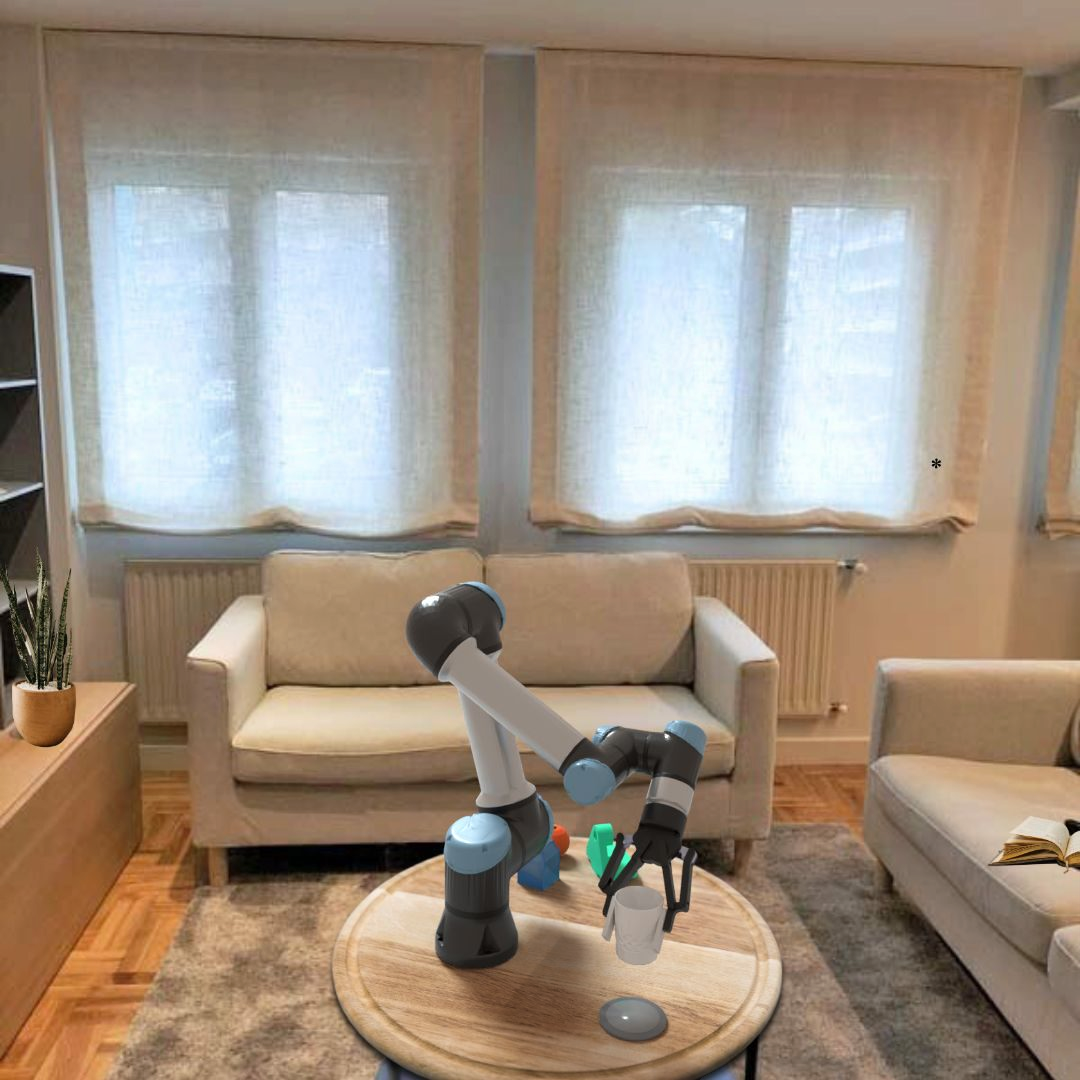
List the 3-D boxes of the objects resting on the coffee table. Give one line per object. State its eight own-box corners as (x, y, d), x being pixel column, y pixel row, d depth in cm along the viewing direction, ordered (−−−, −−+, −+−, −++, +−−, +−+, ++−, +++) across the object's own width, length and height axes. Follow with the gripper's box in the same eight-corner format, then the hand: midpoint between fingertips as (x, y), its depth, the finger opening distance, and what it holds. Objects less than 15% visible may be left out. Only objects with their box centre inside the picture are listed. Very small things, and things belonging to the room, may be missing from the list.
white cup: (630, 935, 189) (632, 880, 187) (670, 952, 184) (673, 896, 182) (602, 955, 183) (604, 898, 181) (643, 974, 178) (645, 916, 176)
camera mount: (638, 882, 231) (640, 835, 229) (602, 886, 229) (604, 839, 227) (620, 855, 243) (622, 810, 241) (586, 858, 241) (587, 813, 239)
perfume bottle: (559, 878, 232) (560, 824, 229) (543, 891, 227) (544, 835, 224) (533, 870, 235) (534, 816, 233) (517, 882, 230) (518, 827, 227)
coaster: (589, 1029, 184) (589, 1025, 184) (613, 993, 193) (613, 989, 193) (653, 1048, 179) (653, 1044, 179) (675, 1010, 189) (675, 1006, 189)
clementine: (526, 854, 242) (526, 823, 240) (548, 844, 247) (548, 813, 245) (554, 867, 236) (555, 835, 235) (576, 856, 241) (577, 825, 240)
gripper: (729, 830, 190) (697, 967, 179) (614, 807, 198) (576, 936, 187) (722, 813, 184) (688, 953, 173) (603, 789, 192) (564, 922, 181)
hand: (630, 944), depth 180 cm, fingers closed on white cup, 8 cm apart
